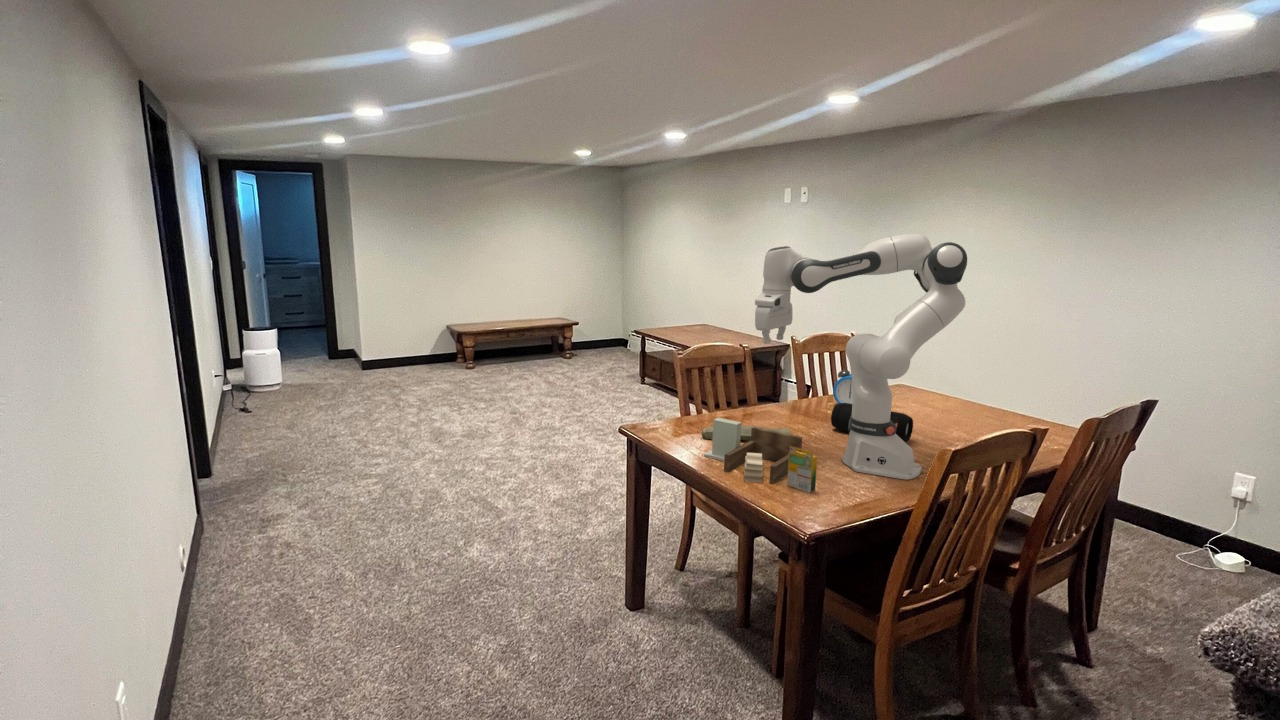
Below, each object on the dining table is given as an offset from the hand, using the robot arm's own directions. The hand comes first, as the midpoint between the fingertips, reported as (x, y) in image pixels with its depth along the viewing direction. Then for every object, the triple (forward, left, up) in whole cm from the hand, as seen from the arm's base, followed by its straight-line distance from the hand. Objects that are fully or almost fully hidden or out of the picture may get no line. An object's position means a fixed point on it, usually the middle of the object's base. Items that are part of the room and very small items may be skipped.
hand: (773, 341), depth 214 cm
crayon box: (-24, +29, -34) cm, 51 cm away
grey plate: (+4, +20, -34) cm, 40 cm away
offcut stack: (-9, +28, -34) cm, 45 cm away
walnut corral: (-9, +23, -34) cm, 42 cm away
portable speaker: (-24, -30, -34) cm, 52 cm away
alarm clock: (-6, -62, -34) cm, 71 cm away
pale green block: (+4, +21, -33) cm, 40 cm away
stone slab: (+9, -2, -35) cm, 36 cm away
